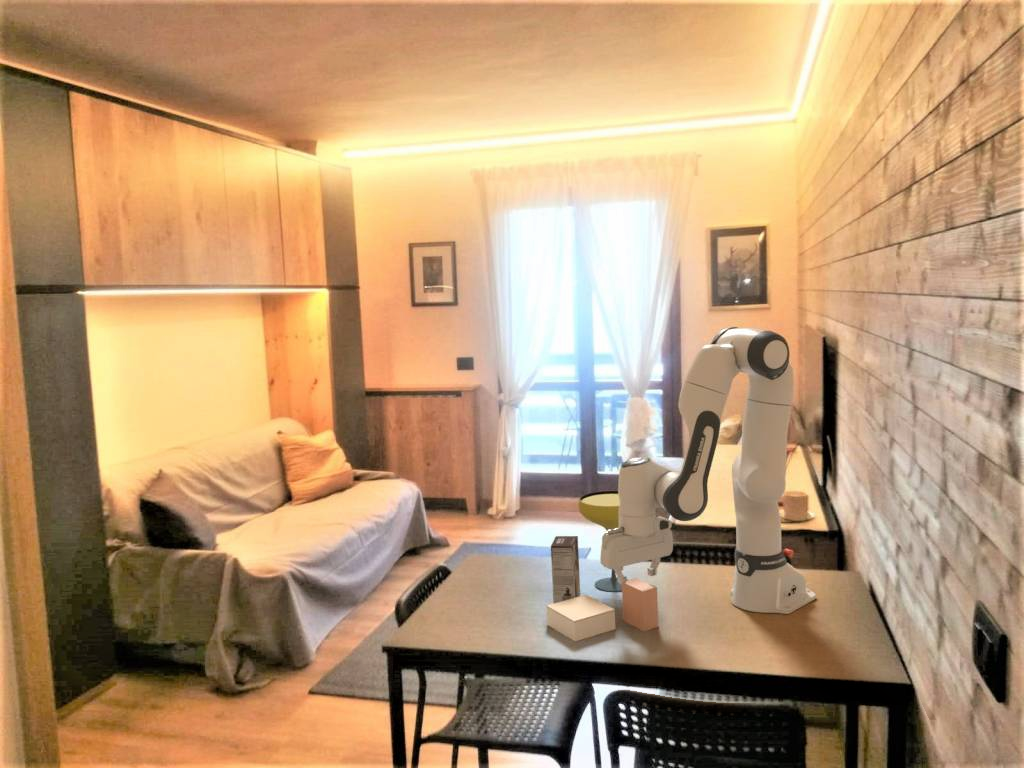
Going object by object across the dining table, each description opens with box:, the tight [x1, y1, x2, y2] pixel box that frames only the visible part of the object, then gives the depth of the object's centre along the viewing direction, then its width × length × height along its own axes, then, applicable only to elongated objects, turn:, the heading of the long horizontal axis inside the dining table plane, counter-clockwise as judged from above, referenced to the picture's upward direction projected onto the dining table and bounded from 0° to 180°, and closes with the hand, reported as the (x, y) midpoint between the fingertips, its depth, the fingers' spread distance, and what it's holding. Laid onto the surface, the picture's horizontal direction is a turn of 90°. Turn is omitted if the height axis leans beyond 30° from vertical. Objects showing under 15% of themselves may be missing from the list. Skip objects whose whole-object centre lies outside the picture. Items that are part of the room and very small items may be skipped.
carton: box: [621, 577, 659, 632], centre depth 191 cm, size 4×8×10 cm, turn 30°
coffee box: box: [550, 535, 581, 604], centre depth 209 cm, size 9×6×16 cm
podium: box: [546, 594, 616, 642], centre depth 190 cm, size 12×12×5 cm
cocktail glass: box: [578, 490, 629, 593], centre depth 217 cm, size 18×18×25 cm
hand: (637, 579), depth 190 cm, fingers open, 8 cm apart
